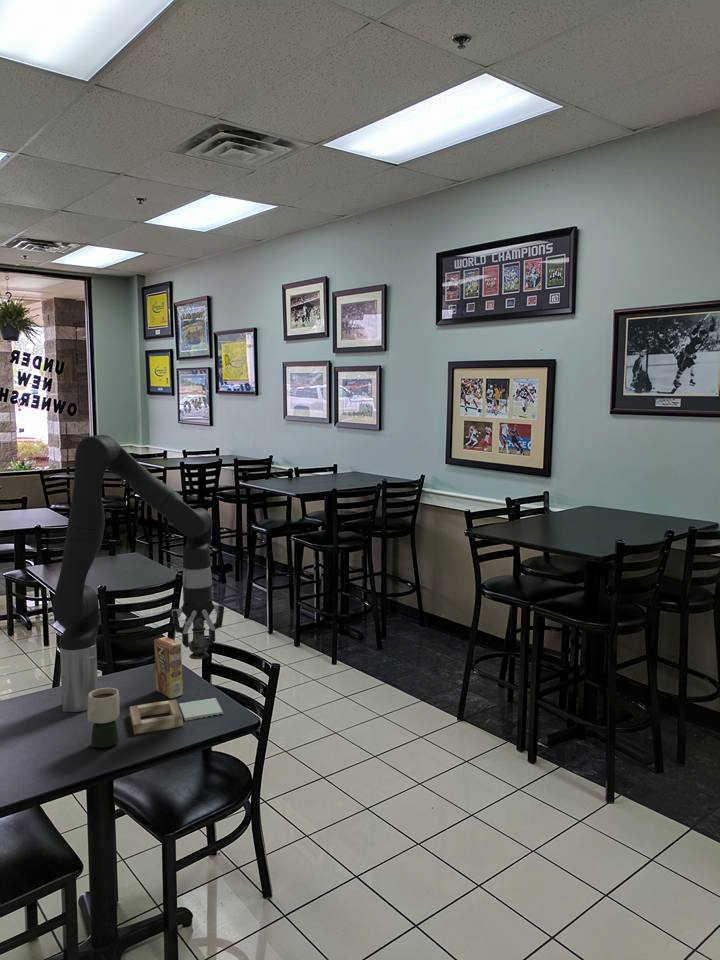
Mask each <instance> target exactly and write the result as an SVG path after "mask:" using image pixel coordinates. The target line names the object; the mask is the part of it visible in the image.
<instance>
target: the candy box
mask: <svg viewBox="0 0 720 960" xmlns="http://www.w3.org/2000/svg"><path fill="white" fill-rule="evenodd" d="M153 644H154V646H153V647H154V667H155V689H156V691H157V692H159V693H161V694H162V695H164V696H166V697H168V698H169V699H175V698H177V697H180V696H183V695H184V691H183V690H184V689H183V688H184V687H183V685H184V684H183V664H182V663H183V662H182V661H183V660H182V657H183V656H182V642H178V641H176V640H174V639H172V638H170V637H168V636H163V637H160V638H156V639H154V643H153Z"/></svg>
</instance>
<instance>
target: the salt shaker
mask: <svg viewBox="0 0 720 960" xmlns="http://www.w3.org/2000/svg"><path fill="white" fill-rule="evenodd" d="M205 630H206V628H205V621H203V619H202V618H197V619H196V621H195V622H192V628H191V631H192V640H191V641H189V647H188V649H189V650H190V652H191V654H190V655H189V656H188V658H190V659H192V660H203V659H207V658H209V656H210V654H209V653H208V650H209V648H210V645H211V644H210V641H209V639H206V636H205V634H206V633H205Z"/></svg>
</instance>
